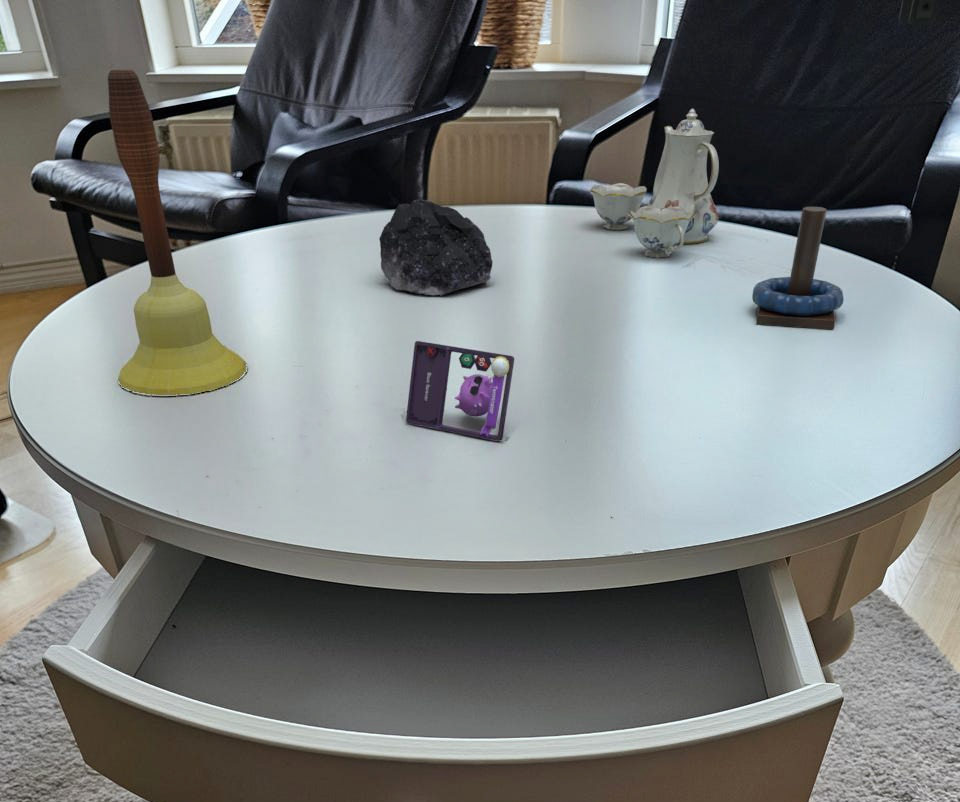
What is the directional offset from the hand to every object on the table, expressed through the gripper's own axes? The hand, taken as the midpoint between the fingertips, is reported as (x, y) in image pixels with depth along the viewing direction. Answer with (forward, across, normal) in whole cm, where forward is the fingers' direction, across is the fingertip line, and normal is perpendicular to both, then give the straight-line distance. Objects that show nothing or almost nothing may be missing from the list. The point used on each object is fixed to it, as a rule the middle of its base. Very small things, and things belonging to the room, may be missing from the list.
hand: (915, 24), depth 87 cm
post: (+27, -4, +7) cm, 28 cm away
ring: (+25, -4, +7) cm, 26 cm away
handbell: (+26, -37, +64) cm, 78 cm away
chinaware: (+26, +30, +25) cm, 47 cm away
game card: (+27, -42, +34) cm, 61 cm away
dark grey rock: (+26, 0, +50) cm, 56 cm away
